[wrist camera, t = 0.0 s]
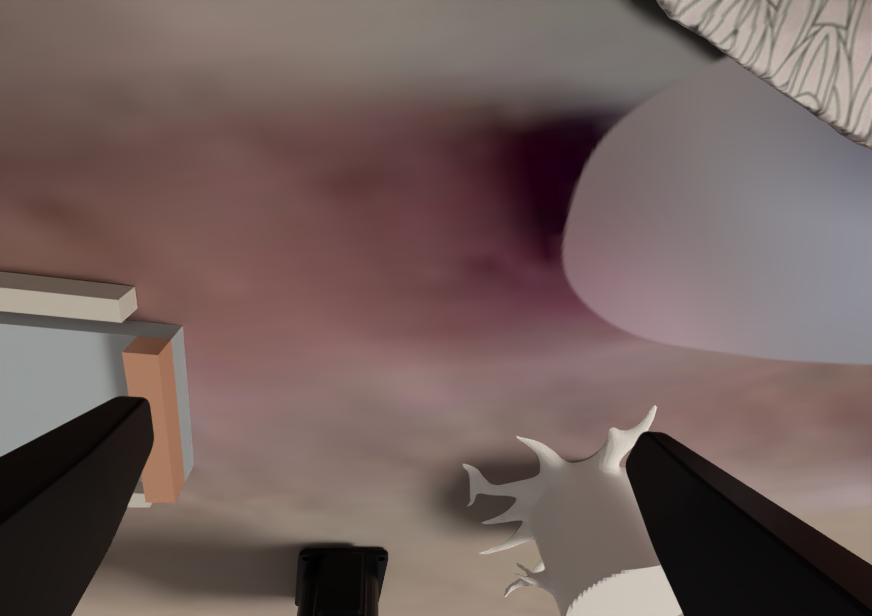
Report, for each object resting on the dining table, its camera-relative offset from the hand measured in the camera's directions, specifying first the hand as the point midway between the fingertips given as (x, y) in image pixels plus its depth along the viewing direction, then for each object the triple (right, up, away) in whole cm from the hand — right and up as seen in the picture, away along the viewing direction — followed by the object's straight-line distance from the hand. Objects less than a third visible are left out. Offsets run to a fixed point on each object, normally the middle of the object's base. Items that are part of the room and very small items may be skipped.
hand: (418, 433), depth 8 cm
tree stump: (+11, -12, +25) cm, 30 cm away
